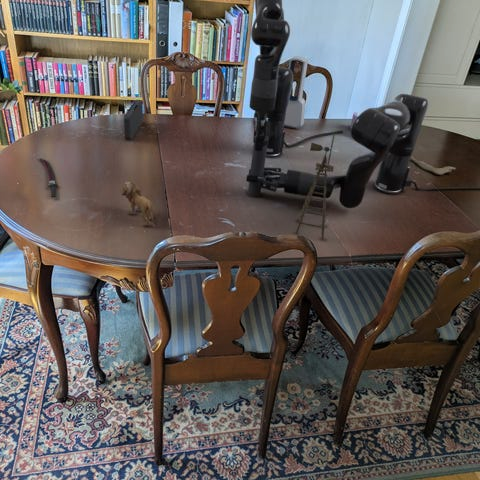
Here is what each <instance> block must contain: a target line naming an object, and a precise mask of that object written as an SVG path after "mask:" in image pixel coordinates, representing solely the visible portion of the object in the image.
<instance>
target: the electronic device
mask: <svg viewBox="0 0 480 480" xmlns="http://www.w3.org/2000/svg"><path fill="white" fill-rule="evenodd" d="M296 62H297V63H301V68H300V74H299V81H298V87H297V94H296V96H294V95H292V94H290V99H289V103H288V106H287V109H286V116H285V123H284V128H289V129H294V130H295V129H296V130H300V129H301V128H302V126H303V125H304V124H305V114H306V113H305V112H306V100H305V98H304V97H303V96H304V95H303V94H304V87H305V82H306V75H307V69H308V63H309V59H308V58H307V57H305V56H301V55H296V56H292V57H291V58H290V59H289V62H288V69H290V70H291V71H292V73H293V75H294V73H295V68H296V67H295V66H296Z"/></svg>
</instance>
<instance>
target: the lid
mask: <svg viewBox="0 0 480 480" xmlns="http://www.w3.org/2000/svg"><path fill="white" fill-rule="evenodd" d="M259 135H261V134H259ZM253 137H254V140H252V143H253V145H254V144H255V143H256V135H255V136H254V135H253ZM268 142H269V137H268V136H266V135H265V140H263V146H266V145H268Z"/></svg>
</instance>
